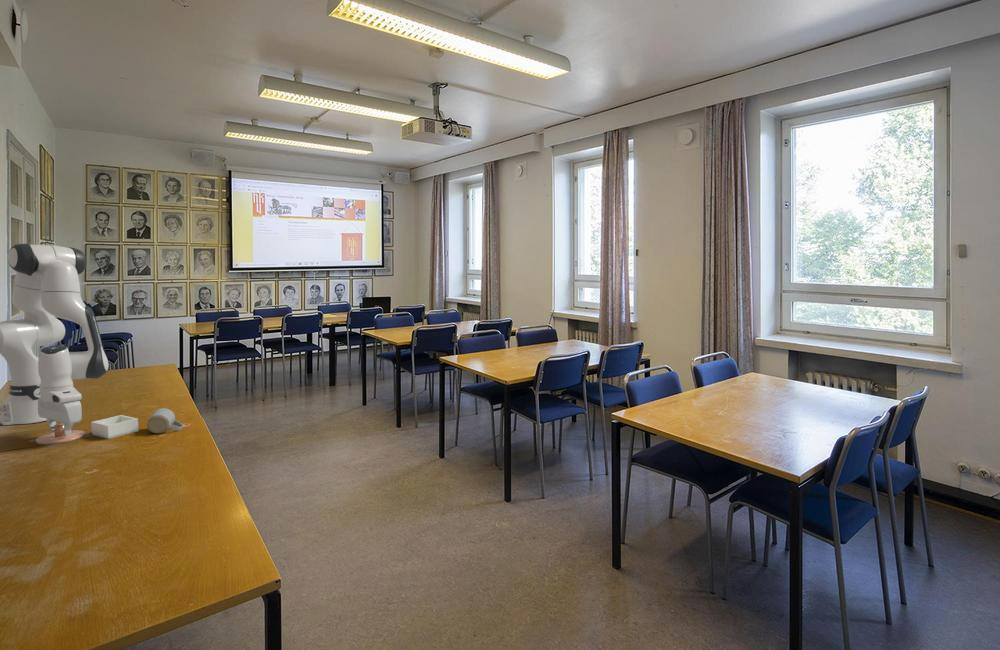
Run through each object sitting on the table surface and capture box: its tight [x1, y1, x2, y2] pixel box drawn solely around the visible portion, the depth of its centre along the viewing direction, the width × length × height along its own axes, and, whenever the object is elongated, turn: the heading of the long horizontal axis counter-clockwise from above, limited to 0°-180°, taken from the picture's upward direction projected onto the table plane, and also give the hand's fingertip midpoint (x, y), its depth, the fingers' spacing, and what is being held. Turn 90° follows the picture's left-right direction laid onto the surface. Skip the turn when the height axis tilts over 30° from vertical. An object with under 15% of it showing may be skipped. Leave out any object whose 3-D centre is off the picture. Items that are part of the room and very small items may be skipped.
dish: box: [90, 414, 140, 440], centre depth 190 cm, size 10×10×5 cm
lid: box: [35, 422, 86, 445], centre depth 183 cm, size 13×13×5 cm
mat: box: [28, 433, 93, 448], centre depth 184 cm, size 13×13×1 cm
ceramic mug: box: [146, 407, 184, 435], centre depth 194 cm, size 11×8×8 cm
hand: (60, 432), depth 183 cm, fingers open, 7 cm apart
